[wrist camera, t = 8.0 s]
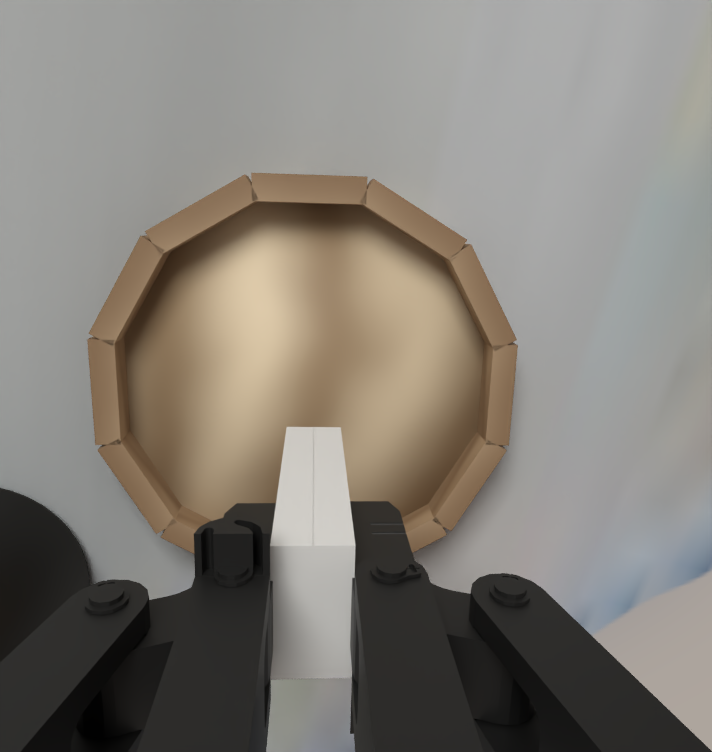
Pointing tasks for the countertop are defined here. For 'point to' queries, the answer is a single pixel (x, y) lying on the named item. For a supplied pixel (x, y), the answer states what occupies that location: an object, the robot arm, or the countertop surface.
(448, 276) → the tray
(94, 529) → the countertop surface
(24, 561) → the mug
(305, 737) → the countertop surface
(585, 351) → the countertop surface
